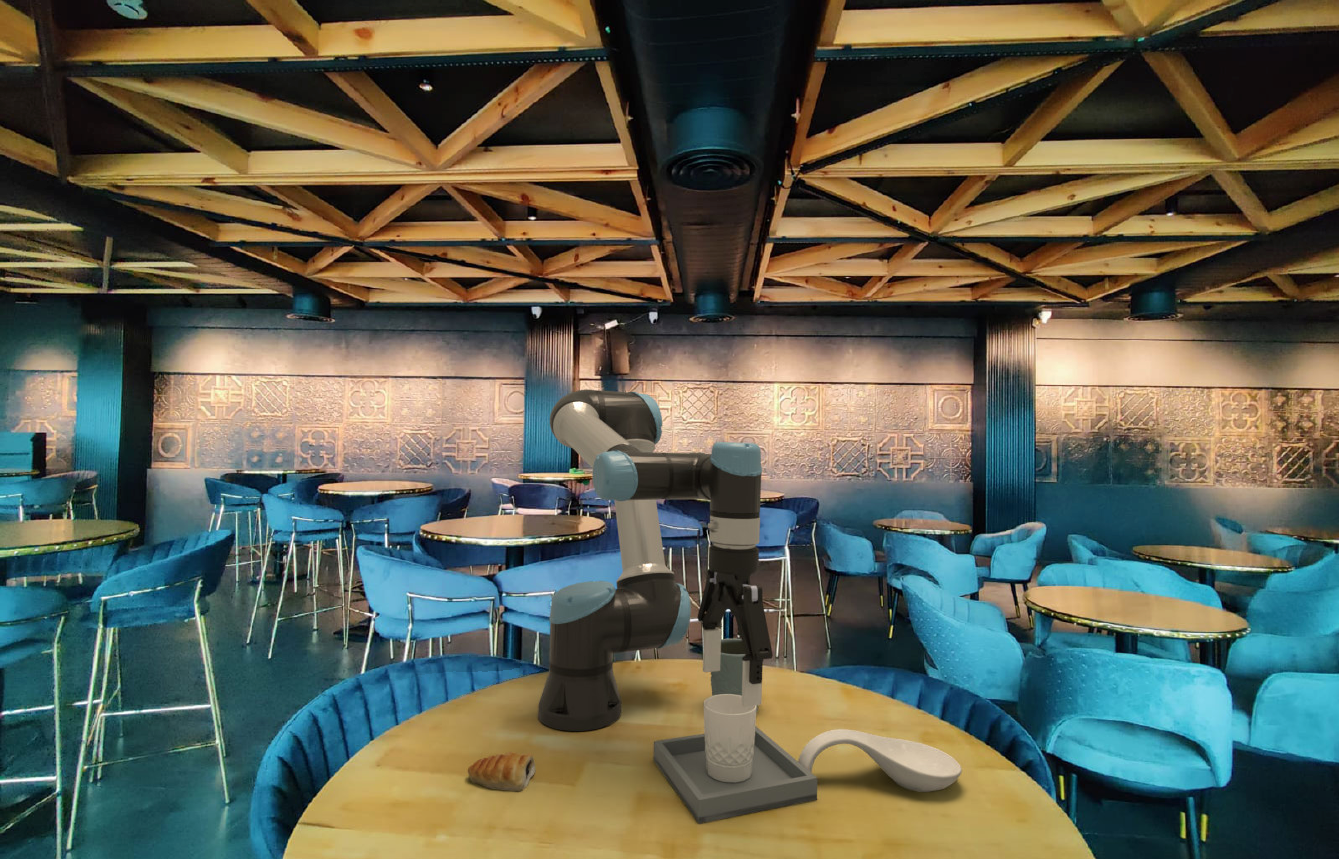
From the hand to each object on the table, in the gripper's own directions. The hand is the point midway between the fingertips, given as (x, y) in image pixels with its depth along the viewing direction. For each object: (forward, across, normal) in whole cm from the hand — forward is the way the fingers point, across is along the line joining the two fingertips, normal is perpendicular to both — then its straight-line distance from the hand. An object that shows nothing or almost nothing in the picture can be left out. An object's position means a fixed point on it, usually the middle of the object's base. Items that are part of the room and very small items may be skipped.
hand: (730, 687), depth 95 cm
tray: (+13, +1, 0) cm, 13 cm away
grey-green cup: (+14, -22, +12) cm, 29 cm away
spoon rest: (+14, +8, +21) cm, 26 cm away
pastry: (+14, -10, -32) cm, 36 cm away
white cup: (+13, 0, 0) cm, 13 cm away
